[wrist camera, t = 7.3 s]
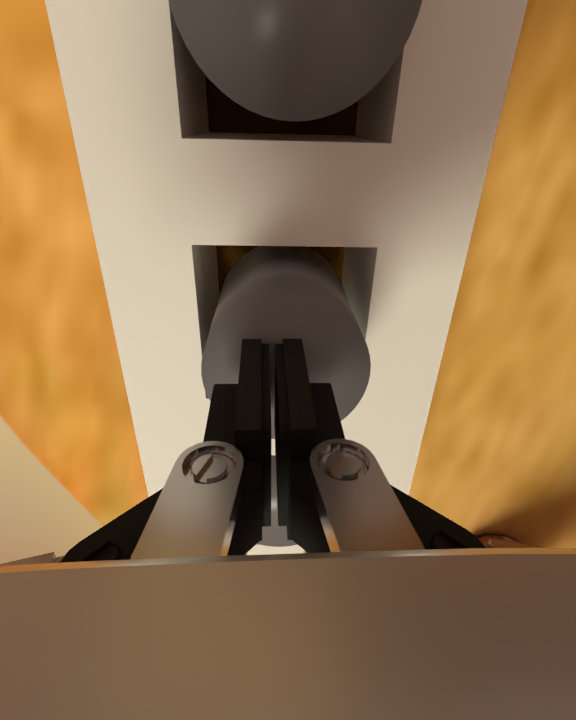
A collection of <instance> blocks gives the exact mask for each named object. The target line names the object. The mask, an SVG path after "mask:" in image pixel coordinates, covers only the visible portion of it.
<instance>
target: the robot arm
mask: <svg viewBox="0 0 576 720" xmlns="http://www.w3.org/2000/svg"><path fill="white" fill-rule="evenodd" d="M274 428H275V456H276V482H277V509H278V526H287V540H292V541H294V542H295V543H296V544H297V545H299V546H300V547H301V548H302V549H304V551H303V553H296V554H266V555H247V552H248V551H249V550H250V549H252V548H253V547H254V546H255V545H256V544H257V543H258V542H259V541H262V527H268V526H271V394H270V359H269V344H262V340H261V339H242V348H241V358H240V369H239V380H238V384H214V386H213V391H212V397H211V402H210V407H209V413H208V418H207V424H206V429H205V434H204V440H203V442H202V443H197V444H195V445H193V446H191V447H189V448H187V449H186V450H185V451H184V452H182V453H181V454H180V456H179V457H178V459H177V460H176V462H175V464H174V466H173V468H172V470H171V472H170V475H169V477H168V479H167V481H166V483H165V485H164V487H163V488H162V489H161V490H159V491H157V492H156V493H154V494H153V495H151V496H150V497H148V498H147V499H145V500H144V501H142V502H140V503H139V504H137V505H136V506H134V507H133V508H131V509H130V510H128V511H127V512H125V513H123V514H122V515H120V516H119V517H117V518H116V519H114V520H113V521H111V522H110V523H108V524H106V525H105V526H103V527H102V528H100V529H99V530H97V531H96V532H94V533H93V534H91V535H89V536H88V537H86V538H85V539H83V540H82V541H80V542H79V543H78V544H76V545H75V546H74V547H73V548H71V549H70V550H69V551H68V552H67V554H66V555H65V556H61V557H57V558H56V556H55V554H54V552H52V553H48V554H43V555H39V556H34V557H30V558H26V559H21V560H17V561H12V562H8V563H3V564H0V720H576V549H568V548H545V547H539V546H533V545H527V544H521V543H515V542H509V541H504V540H498V539H492V538H490V539H489V542H488V544H487V543H482V542H481V541H480V540H479V539H478V538H477V537H476V536H474V535H473V534H472V533H470V532H469V531H468V530H466V529H465V528H463V527H461V526H460V525H458V524H456V523H454V522H453V521H451V520H449V519H448V518H446V517H444V516H443V515H441V514H439V513H437V512H436V511H434V510H432V509H431V508H429V507H427V506H426V505H424V504H422V503H421V502H419V501H417V500H415V499H414V498H412V497H410V496H409V495H407V494H405V493H404V492H402V491H400V490H398V489H397V488H395V487H393V486H392V485H390V484H389V482H388V480H387V478H386V476H385V475H384V473H383V471H382V469H381V467H380V465H379V464H378V462H377V460H376V458H375V456H374V455H373V454H372V453H371V451H370V450H369V449H367V448H366V447H365V446H363V445H362V444H360V443H357V442H355V441H352V440H347V439H345V436H344V432H343V428H342V424H341V421H340V417H339V413H338V409H337V405H336V401H335V397H334V393H333V390H332V386H331V383H310V382H309V376H308V371H307V365H306V359H305V354H304V348H303V343H302V339H283V340H282V344H275V410H274Z"/></svg>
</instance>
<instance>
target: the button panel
mask: <svg viewBox="0 0 576 720" xmlns="http://www.w3.org/2000/svg"><path fill="white" fill-rule="evenodd" d="M45 3H46V7H47V12H48V17H49V22H50V27H51V31H52V36H53V41H54V46H55V51H56V55H57V60H58V65H59V70H60V74H61V79H62V84H63V89H64V94H65V98H66V103H67V108H68V113H69V118H70V122H71V127H72V132H73V137H74V142H75V146H76V151H77V156H78V161H79V165H80V170H81V175H82V180H83V185H84V189H85V194H86V199H87V204H88V209H89V213H90V218H91V223H92V228H93V233H94V237H95V242H96V247H97V252H98V256H99V261H100V266H101V271H102V276H103V280H104V285H105V290H106V295H107V300H108V304H109V309H110V314H111V319H112V324H113V328H114V333H115V338H116V343H117V347H118V352H119V357H120V362H121V367H122V371H123V376H124V381H125V386H126V391H127V395H128V400H129V405H130V410H131V415H132V419H133V424H134V429H135V434H136V438H137V443H138V448H139V453H140V458H141V462H142V467H143V472H144V477H145V482H146V486H147V491H148V496H149V497H150V496H151V495H153V494H154V493H156V492H157V491H159V490H161V489H162V488H163V487H164V485H165V483H166V481H167V479H168V477H169V475H170V472H171V470H172V468H173V466H174V464H175V462H176V460H177V459H178V457H179V456H180V454H181V453H182V452H184V451H185V450H186V449H187V448H189V447H191V446H193V445H195V444H197V443H202V442H203V440H204V434H205V429H206V424H207V418H208V413H209V407H210V400H209V398H208V396H207V394H206V391H205V388H204V385H203V381H202V375H201V363H202V355H203V352H204V349H205V345H206V342H207V338H208V335H209V331H210V328H211V324H212V321H213V317H214V314H215V311H216V307H217V304H218V300H219V297H220V296H219V281H218V265H217V249H216V245H237V246H309V247H345V251H344V262H343V273H342V284H341V285H342V287H343V289H344V292H345V294H346V296H347V299H348V301H349V304H350V306H351V308H352V311H353V313H354V315H355V318H356V320H357V322H358V325H359V327H360V330H361V332H362V334H363V337H364V339H365V341H366V344H367V346H368V350H369V354H370V363H371V369H370V377H369V382H368V385H367V388H366V391H365V393H364V395H363V397H362V399H361V400H360V402H359V403H358V405H357V406H356V407H355V409H354V410H353V411H352V412H351V413H350V414H349V415H348V416H347V417H346V418H344V419H343V420H342V421H341V424H342V428H343V432H344V436H345V439H347V440H352V441H355V442H357V443H360V444H362V445H363V446H365V447H366V448H367V449H369V450H370V451H371V453H372V454H373V455H374V456H375V458H376V460H377V462H378V464H379V465H380V467H381V469H382V471H383V473H384V475H385V476H386V478H387V480H388V482H389V484H390V485H392V486H393V487H395V488H397V489H398V490H400V491H402V492H404V493H405V494H407V495H409V491H410V487H411V483H412V479H413V475H414V471H415V467H416V462H417V458H418V454H419V450H420V446H421V442H422V438H423V434H424V429H425V425H426V421H427V417H428V413H429V409H430V405H431V400H432V396H433V392H434V388H435V384H436V380H437V376H438V371H439V367H440V363H441V359H442V355H443V351H444V347H445V342H446V338H447V334H448V330H449V326H450V322H451V318H452V314H453V309H454V305H455V301H456V297H457V293H458V289H459V285H460V280H461V276H462V272H463V268H464V264H465V260H466V256H467V251H468V247H469V243H470V239H471V235H472V231H473V227H474V222H475V218H476V214H477V210H478V206H479V202H480V198H481V194H482V189H483V185H484V181H485V177H486V173H487V169H488V165H489V160H490V156H491V152H492V148H493V144H494V140H495V136H496V131H497V127H498V123H499V119H500V115H501V111H502V107H503V102H504V98H505V94H506V90H507V86H508V82H509V78H510V74H511V69H512V65H513V61H514V57H515V53H516V49H517V45H518V40H519V36H520V32H521V28H522V24H523V20H524V16H525V11H526V7H527V3H528V0H422V4H421V7H420V10H419V14H418V17H417V20H416V22H415V24H414V27H413V29H412V32H411V34H410V37H409V38H408V40H407V42H406V44H405V46H404V48H403V50H402V52H401V54H400V55H399V57H398V58H397V60H396V61H395V62H394V64H393V65H392V67H391V68H390V70H389V71H388V72H387V73H386V75H385V76H384V77H383V78H382V79H381V80H380V82H379V83H378V84H377V85H376V86H375V87H374V88H372V89H371V90H370V91H369V92H368V93H367V94H366V95H365V96H363V97H362V98H361V99H359V100H358V110H357V121H356V132H355V136H340V135H301V134H261V133H221V132H209V124H208V108H207V92H206V77H205V73H204V72H203V71H202V70H201V68H200V67H199V66H198V64H197V63H196V61H195V60H194V58H193V56H192V55H191V53H190V52H189V50H188V48H187V47H186V45H185V42H184V40H183V38H182V36H181V34H180V32H179V30H178V28H177V25H176V22H175V19H174V16H173V14H172V11H171V8H170V4H169V0H45ZM271 455H275V439H271ZM303 551H304V549H302V548H301V547H300V546H299V545H293V546H285V547H272V546H265V545H260V544H256V545H255V546H254V547H253V548H252V549H250V550H249V551H248V552H247V555H266V554H296V553H303Z"/></svg>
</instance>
